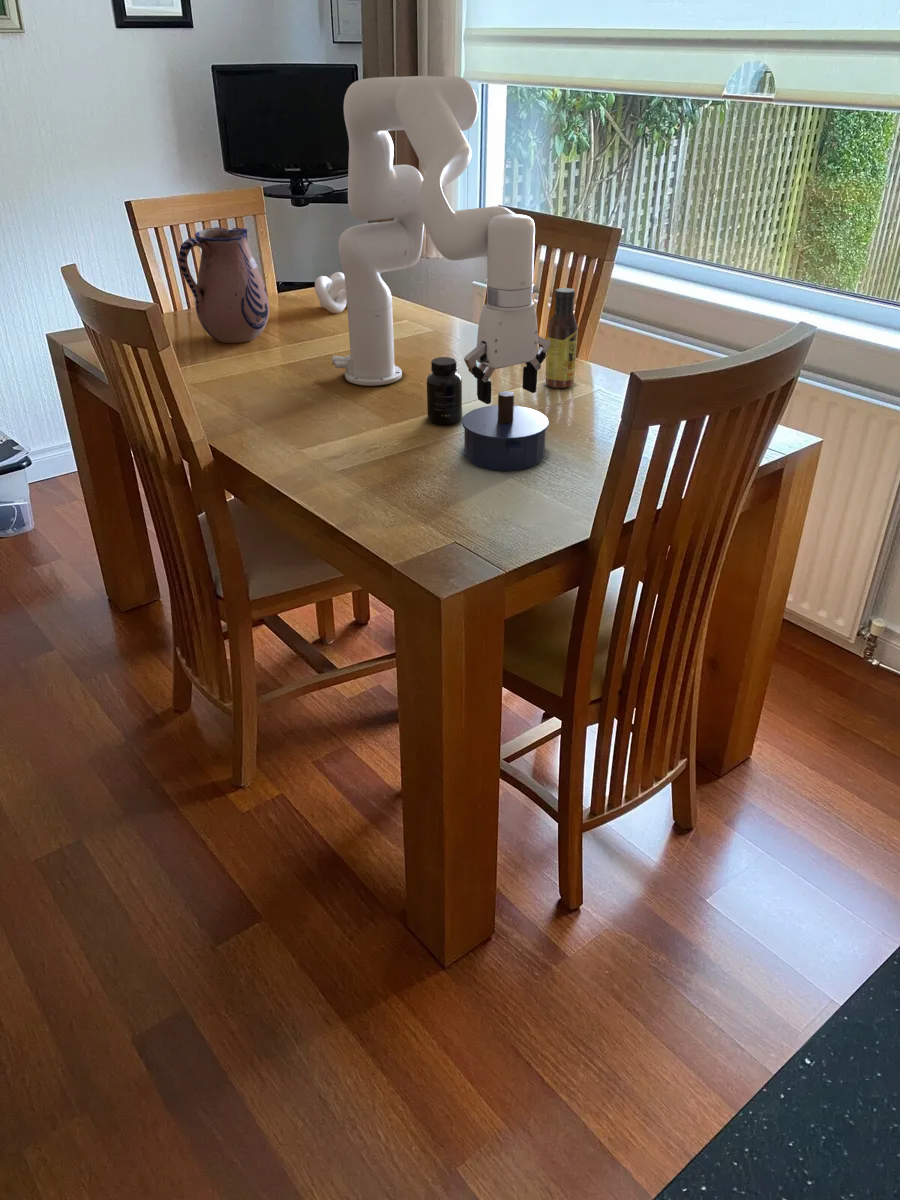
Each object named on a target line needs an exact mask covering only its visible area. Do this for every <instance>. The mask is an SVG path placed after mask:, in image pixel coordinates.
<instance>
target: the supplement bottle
mask: <svg viewBox="0 0 900 1200" xmlns="http://www.w3.org/2000/svg"><path fill="white" fill-rule="evenodd" d="M430 364H431V366H430V367H431V368H430V371H431V373H429V374H428V376H427V378H426V405H427V406H426V407H427V408H426V409H427V411H426V412H427V419H428V422H429V423H431V424H433V425H435V426H439V427H449V426H454V425H457V424H459V423H460V422H461V421H462V420H463V383H462V382H463V379H462V376H461V374H459V373H458V372H457V371H458V367H457V360H456V359H455V358H453V357H450V356H439V357H435V358H432V359H431V362H430Z"/></svg>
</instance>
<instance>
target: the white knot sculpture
mask: <svg viewBox="0 0 900 1200" xmlns="http://www.w3.org/2000/svg"><path fill="white" fill-rule="evenodd" d="M314 290H315V294H316V296H317V299H318V301H319V305H320V307H321V308H322V309H325V310H327V311H328V312H330V313H332V314H339V313H341V312H343V311H344V310H345V309H346V308H347V295H346V285H345V278H344V272H340V271H337V272H336V271H335V272H334V273H332V274H331V275H330V276H329V277H328V276H325V275H320V276H318V277H317V278H316V280H315V282H314Z"/></svg>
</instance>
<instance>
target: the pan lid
mask: <svg viewBox="0 0 900 1200" xmlns="http://www.w3.org/2000/svg"><path fill="white" fill-rule="evenodd" d="M461 424H462V427H463V429H464V428H465V429H466V430H467V431H468V432H470V433H471V434H473V435H476V436H479V437H482V438H487V439H492V440H507V441H508V440H522V439H527V438H531V437H535V436H537V435H540V434H542V433H543V432H545V431H546V432H547V429H548V428H549V424H550V422H549V418H548V417H547V416H546V415H545V413H542V412H541V411H538V410H536V409H534V408H530V407H527V406H526V407H525V406H520V405H515V393H514V392H513V391H509V390H504V391H503V390H502V391H500V392H498V393H497V405H496V404H495V405H487V406H482V407H478V408H475V409H472V410H470V411H469V412H467V413H466V414H464V416H462V419H461Z"/></svg>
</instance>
